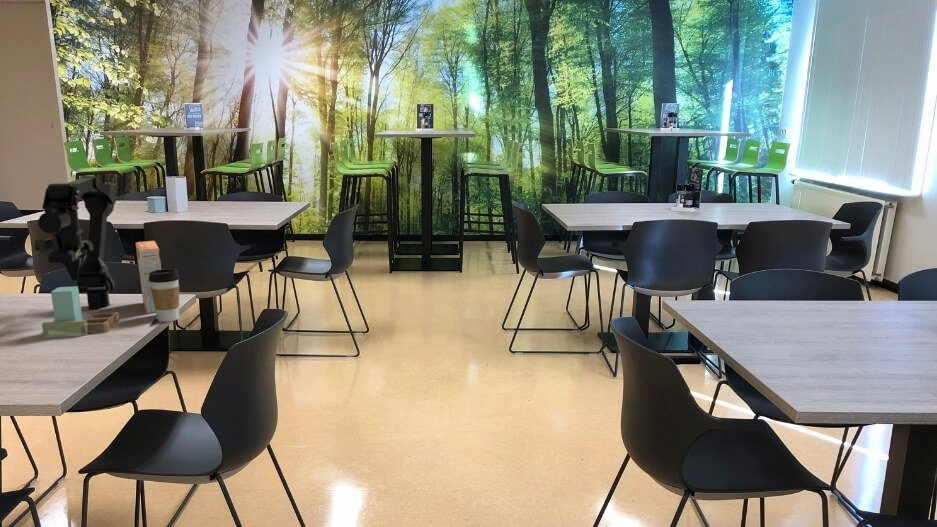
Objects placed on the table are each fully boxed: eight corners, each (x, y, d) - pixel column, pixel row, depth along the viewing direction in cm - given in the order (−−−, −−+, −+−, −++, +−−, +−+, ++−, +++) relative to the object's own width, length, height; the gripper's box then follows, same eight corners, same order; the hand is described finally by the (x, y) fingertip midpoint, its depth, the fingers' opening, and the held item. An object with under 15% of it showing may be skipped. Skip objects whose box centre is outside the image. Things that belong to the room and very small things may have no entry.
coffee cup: (168, 324, 191) (163, 274, 187) (146, 321, 194) (140, 272, 190) (189, 316, 198) (185, 268, 195) (168, 313, 201) (163, 266, 198)
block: (63, 328, 183) (58, 287, 180) (83, 327, 184) (77, 286, 181) (57, 334, 178) (50, 292, 175) (77, 333, 179) (71, 291, 176)
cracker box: (142, 305, 210) (134, 241, 205) (162, 302, 213) (155, 240, 208) (145, 316, 198) (137, 249, 193) (166, 314, 201) (159, 247, 196)
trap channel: (63, 325, 190) (61, 308, 189) (121, 321, 193) (119, 305, 192) (44, 341, 176) (41, 323, 175) (106, 337, 180) (104, 320, 178)
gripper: (49, 223, 193) (56, 274, 196) (21, 234, 175) (30, 290, 178) (90, 221, 195) (97, 272, 199) (67, 232, 177) (75, 287, 181)
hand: (74, 280), depth 189 cm, fingers closed
